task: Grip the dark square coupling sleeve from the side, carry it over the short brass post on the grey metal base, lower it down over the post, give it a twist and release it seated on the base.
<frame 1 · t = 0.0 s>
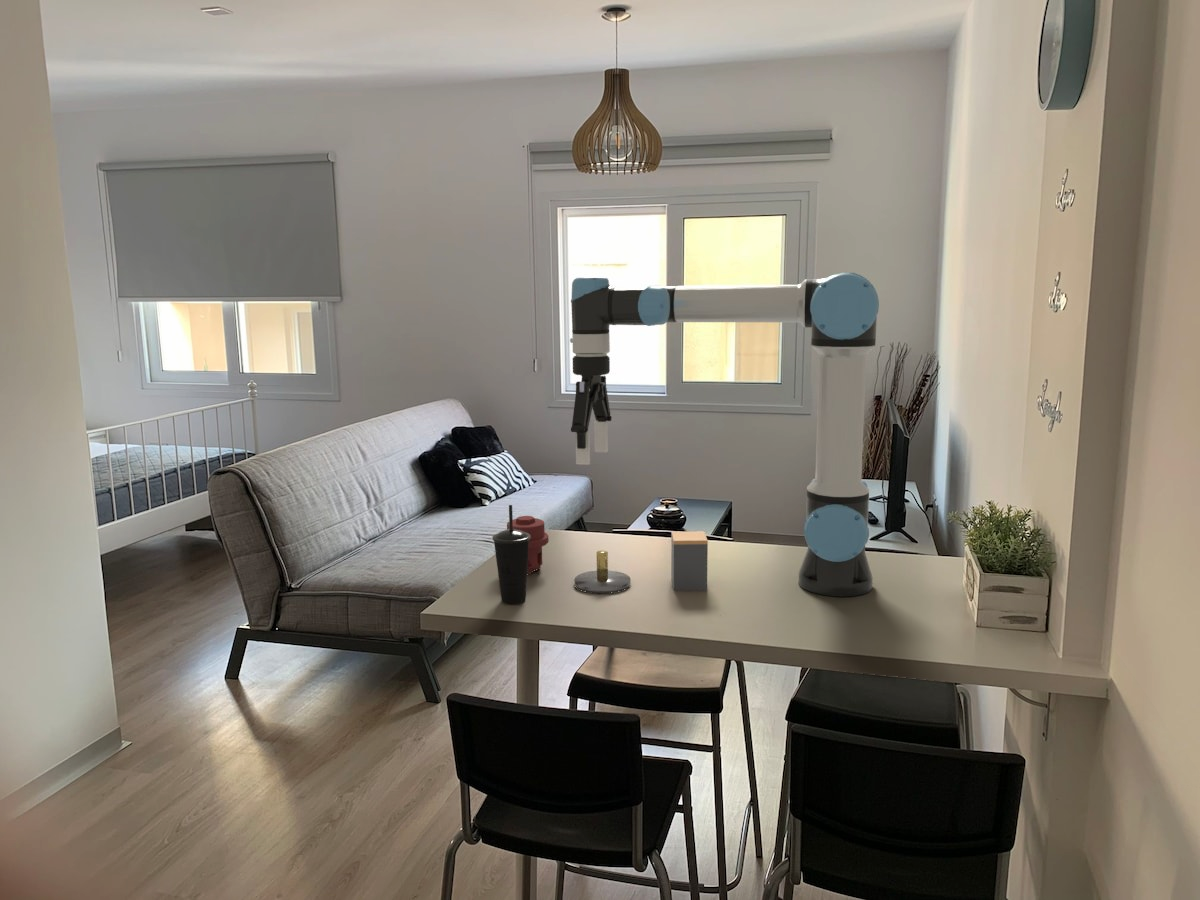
hand: (592, 458, 186), 28 cm above the table, tool pointing down, fingers open, 13 cm apart
sleeve: (688, 584, 192), on the table
drinking cup: (513, 601, 184), on the table
mechanical component: (527, 571, 203), on the table
post base: (602, 584, 193), on the table
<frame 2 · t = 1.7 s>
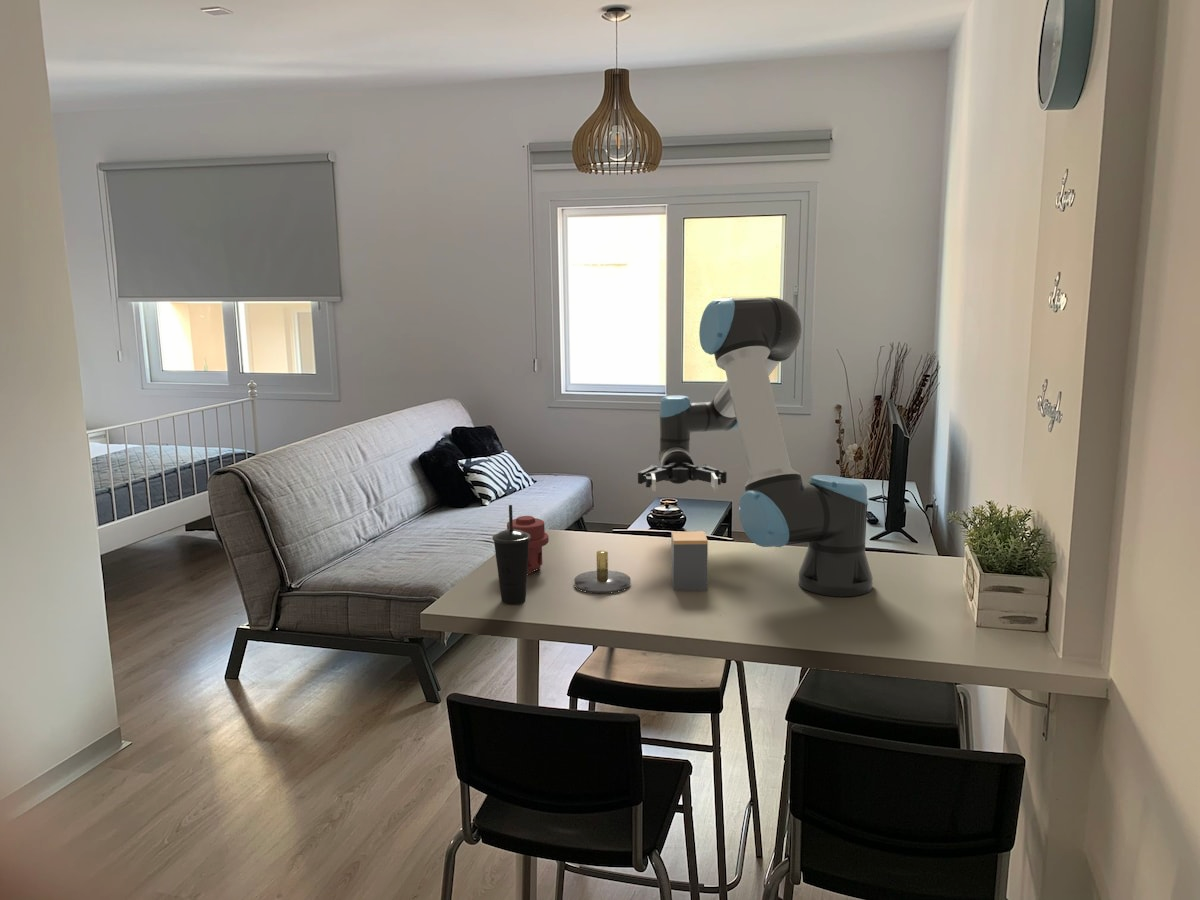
hand: (685, 485, 198), 20 cm above the table, tool horizontal, fingers open, 13 cm apart
nothing on the table moved.
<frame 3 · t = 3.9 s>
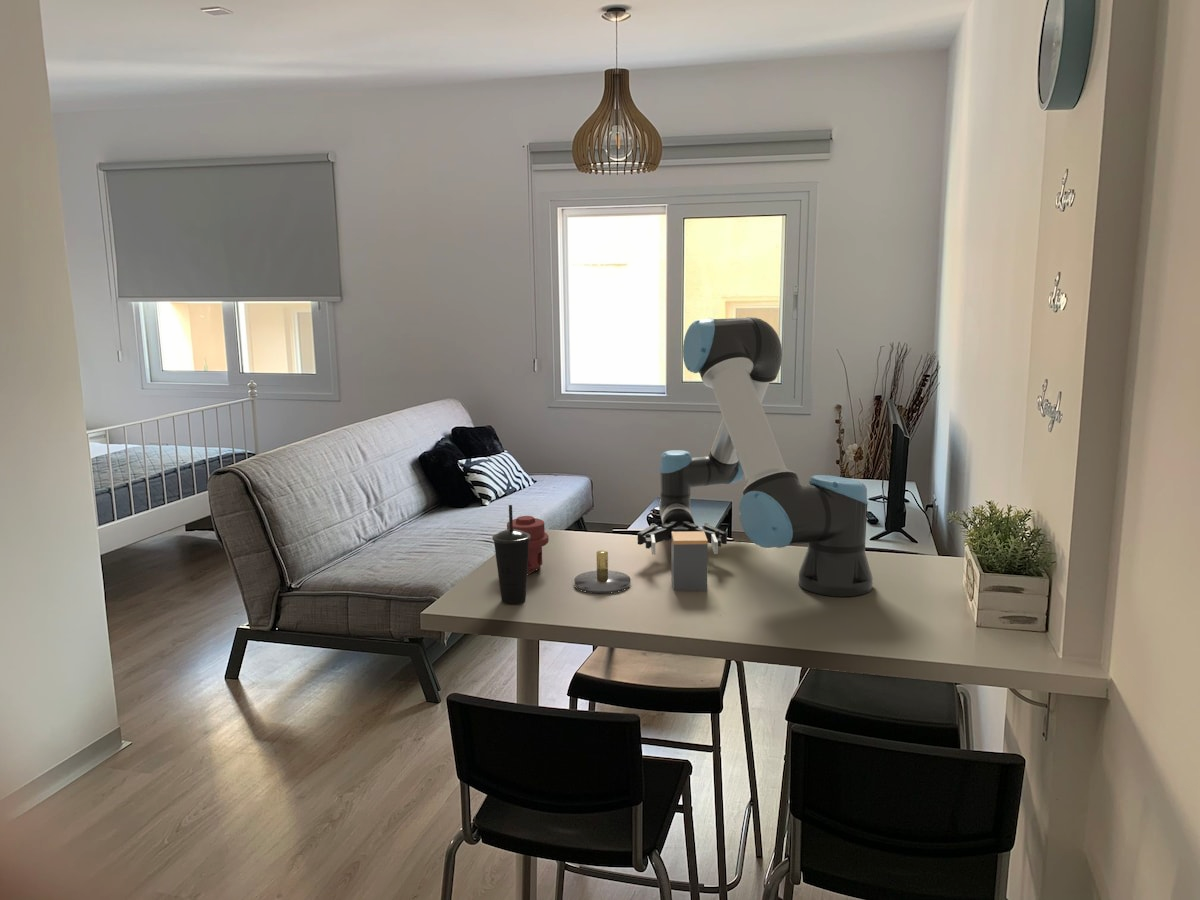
hand: (684, 548, 197), 6 cm above the table, tool horizontal, fingers open, 13 cm apart
nothing on the table moved.
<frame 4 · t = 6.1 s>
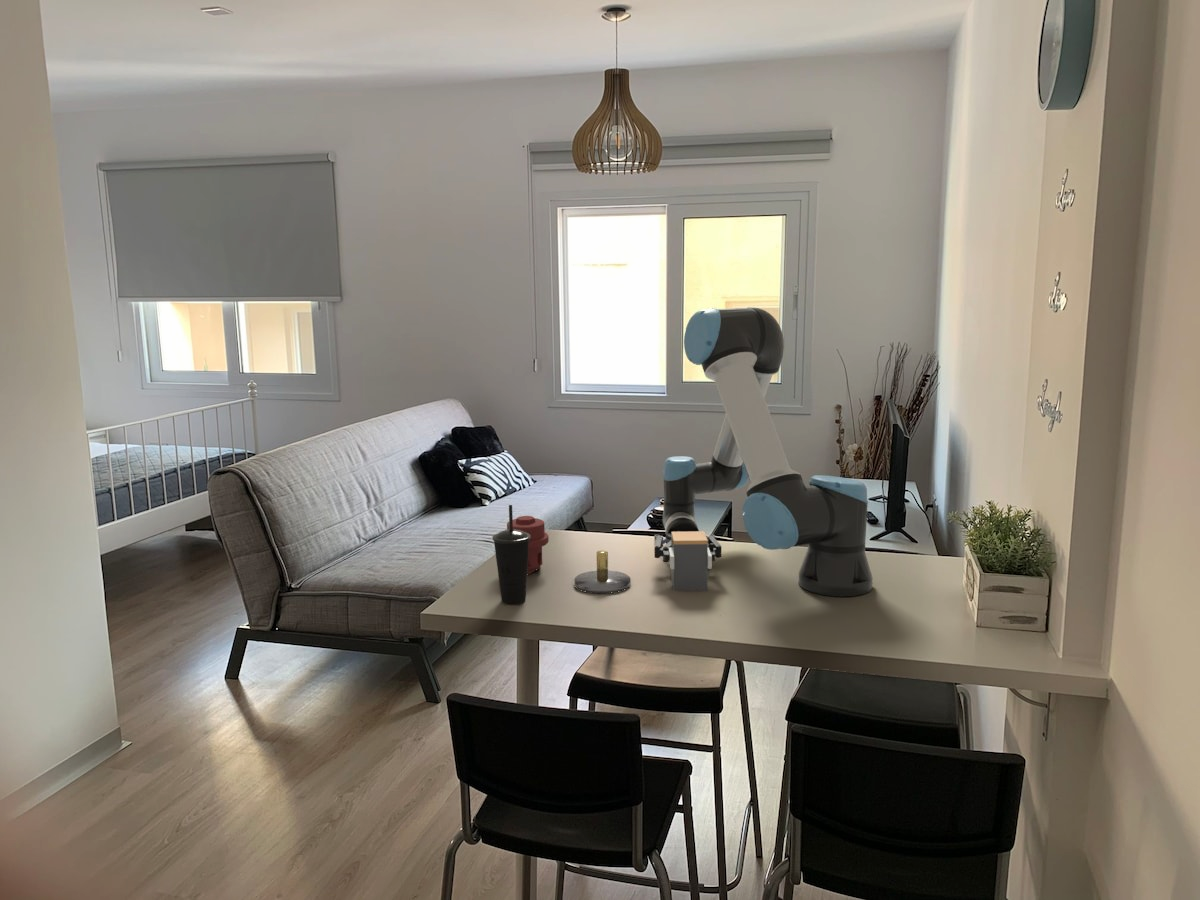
hand: (691, 562, 186), 7 cm above the table, tool horizontal, fingers closed on sleeve, 7 cm apart
sleeve: (688, 584, 192), on the table, touching gripper
everything else where it was.
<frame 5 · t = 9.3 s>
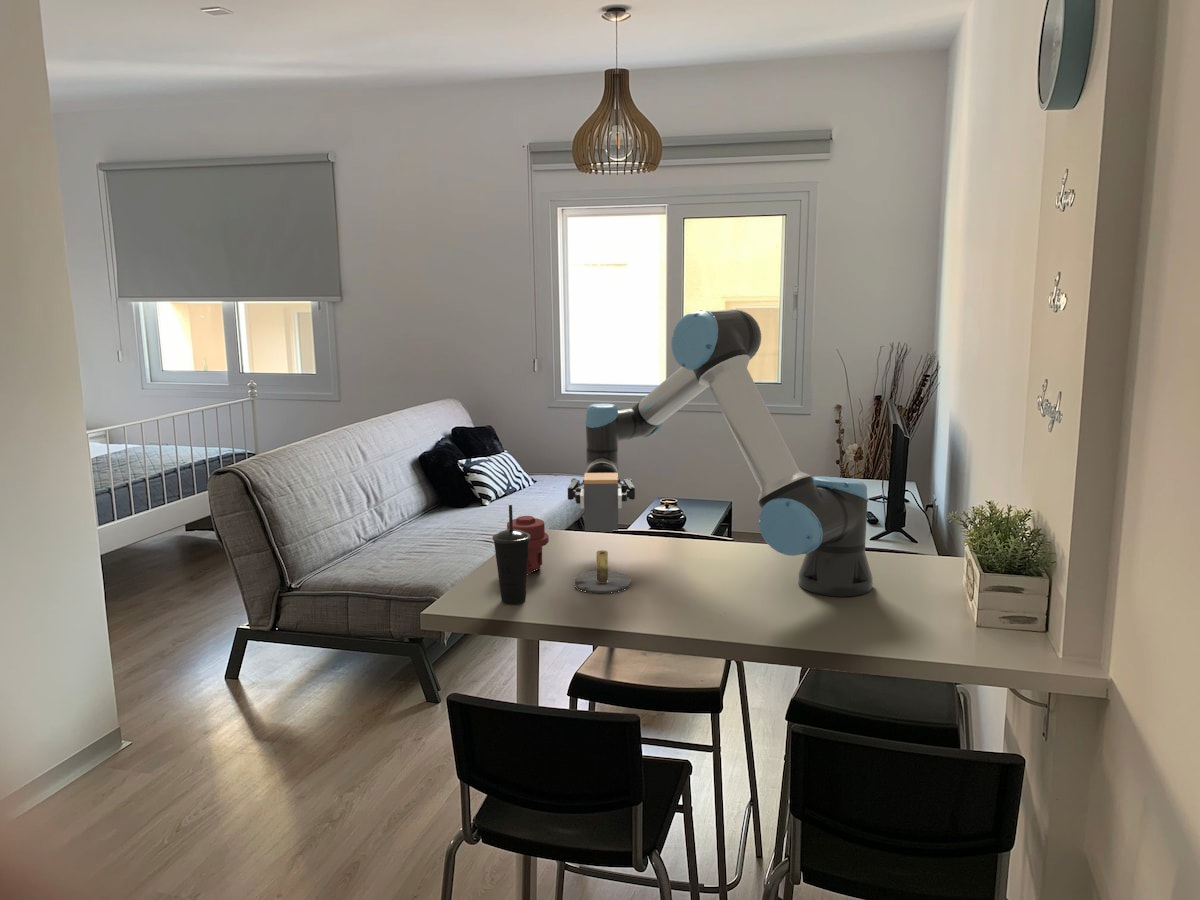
hand: (601, 502, 185), 19 cm above the table, tool horizontal, fingers closed on sleeve, 7 cm apart
sleeve: (601, 526, 191), point 13 cm above the table, touching gripper
everything else where it was.
when the fingers open (8 cm above the table, at t = 12.6 s): sleeve stays where it is, resting on post base.
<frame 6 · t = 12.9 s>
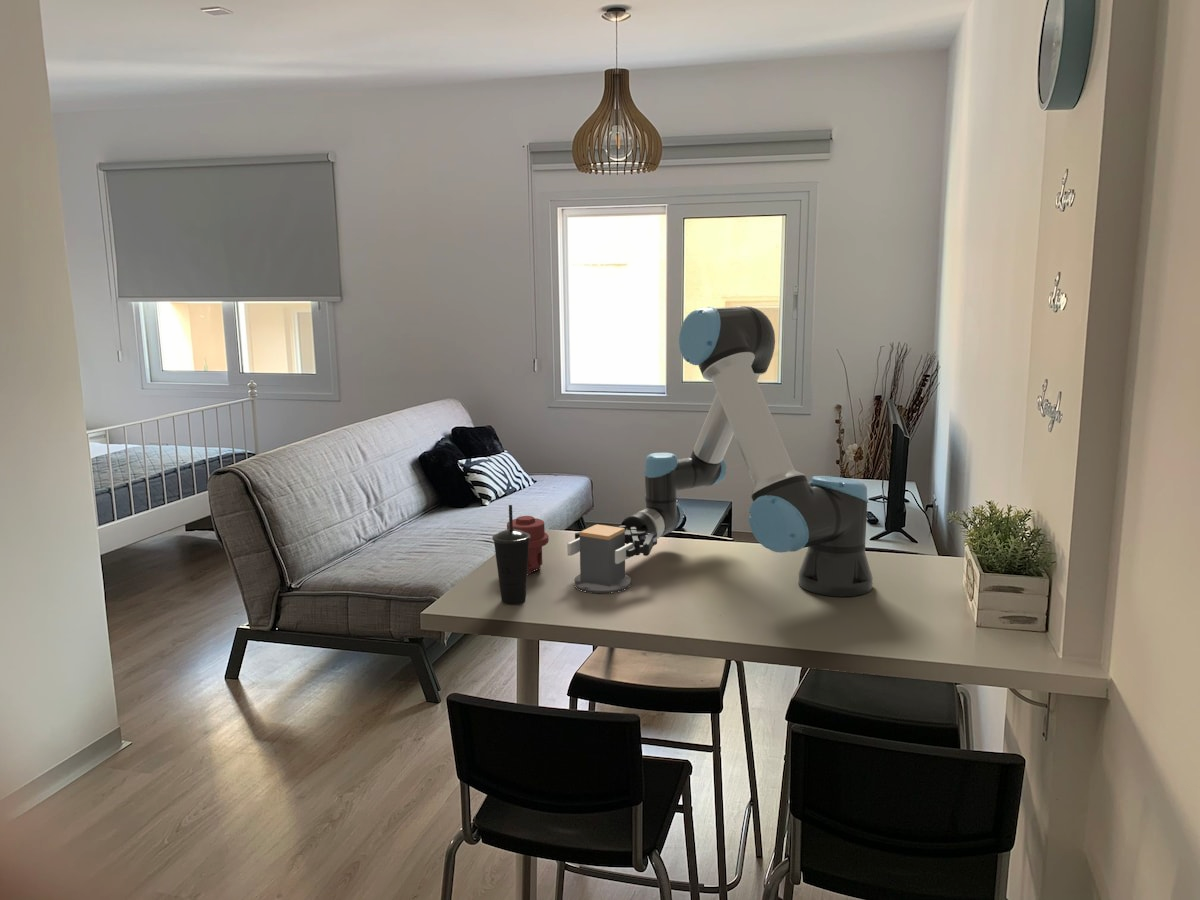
hand: (592, 553, 188), 8 cm above the table, tool horizontal, fingers open, 11 cm apart
sleeve: (602, 578, 193), point 1 cm above the table, touching post base
everything else where it was.
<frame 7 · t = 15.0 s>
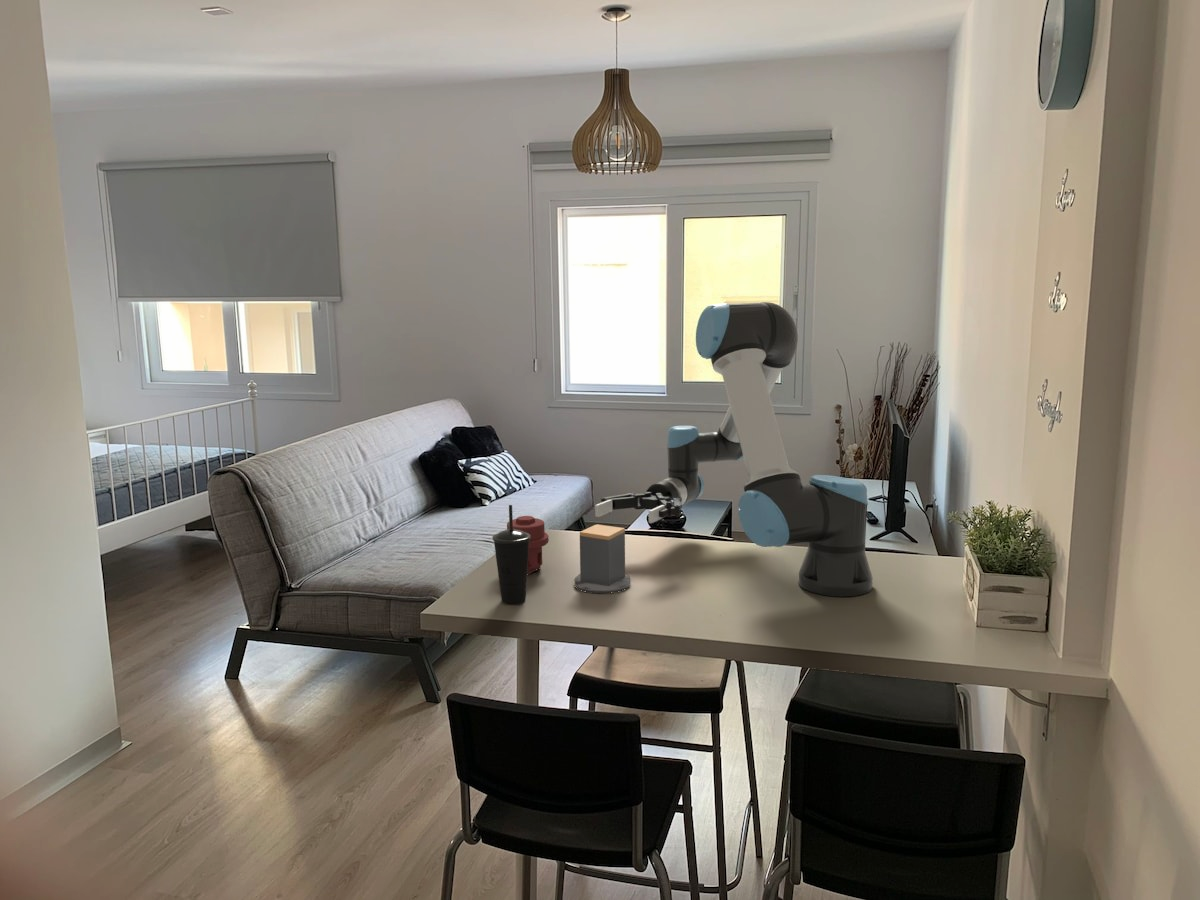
hand: (622, 514, 200), 13 cm above the table, tool horizontal, fingers open, 13 cm apart
nothing on the table moved.
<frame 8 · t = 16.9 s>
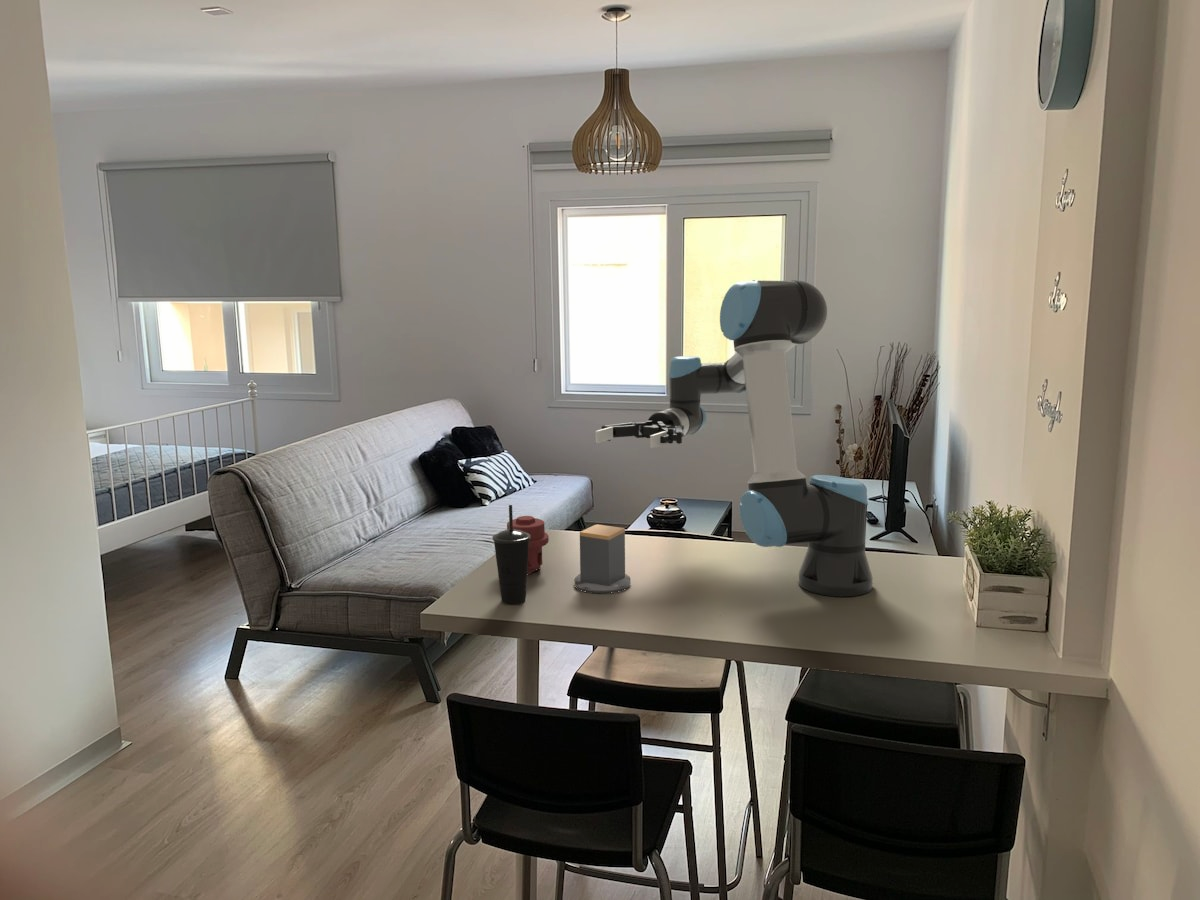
hand: (623, 439, 196), 30 cm above the table, tool horizontal, fingers open, 13 cm apart
nothing on the table moved.
at the end: sleeve 0.1 cm off-centre on the post base, point 1.2 cm above the post base's base; sleeve tilted 0°; the gripper is holding nothing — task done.
